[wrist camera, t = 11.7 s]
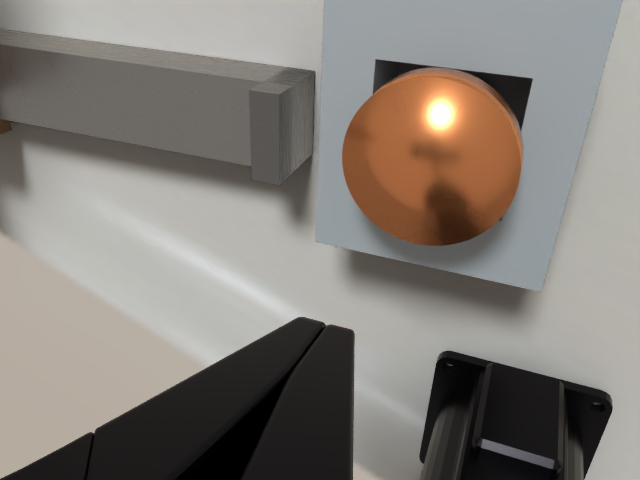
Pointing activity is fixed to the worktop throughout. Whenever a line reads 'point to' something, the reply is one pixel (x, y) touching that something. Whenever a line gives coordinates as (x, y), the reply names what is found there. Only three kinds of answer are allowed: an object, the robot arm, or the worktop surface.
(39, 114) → the rail
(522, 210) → the box
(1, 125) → the carriage
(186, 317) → the worktop surface
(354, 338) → the robot arm
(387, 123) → the button
